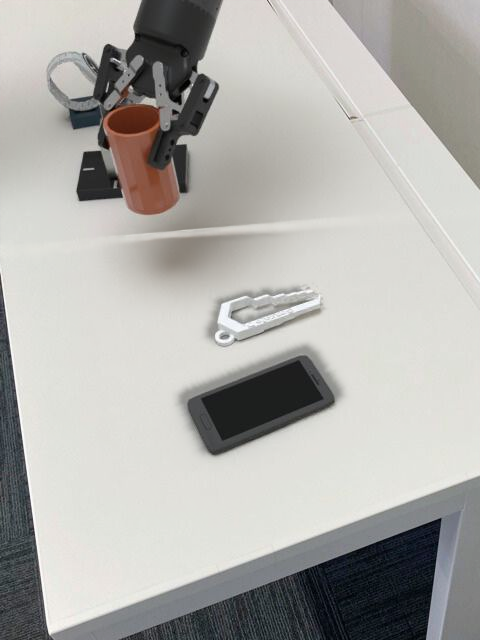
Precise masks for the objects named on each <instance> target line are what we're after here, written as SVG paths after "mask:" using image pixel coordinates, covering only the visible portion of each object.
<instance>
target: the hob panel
mask: <svg viewBox="0 0 480 640" xmlns="http://www.w3.org/2000/svg"><path fill="white" fill-rule="evenodd" d="M189 156H190V155H189V149H188V144H187V143H180V144H176V147H175V150H174V153H173V156H172V157H173V162H174V167H175V171H176V176H177V181H178V185H179V192H180V194H188V192H189V191H188V190H189V189H188V188H189V187H188V185H189V158H190V157H189ZM79 169H80V170H79V174H78V180H77V185H76V190H75V192H76V195H77V198H78V201H79V202H88V201H98V200H112V199H113V200H114V199H122V198H123V195H122V191H121V188H120V184H119V181H118V178H109V177H108V173H107V170H106V167H105V163H104V160H103V156H102V153H101V149H99V150H88V151H83V152H82V158H81V164H80V167H79ZM123 199H124V198H123Z"/></svg>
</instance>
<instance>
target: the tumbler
mask: <svg viewBox="0 0 480 640" xmlns="http://www.w3.org/2000/svg"><path fill="white" fill-rule="evenodd" d="M103 128H104V131H105V135H106V138H107V142H108V145H109V149H110V152H111V156H112V159H113V163H114V167H115V170H116V174H117V177H118V181H119V184H120V188H121V191H122V195H123V200H124V204H125V206H126V208H127V209H128V210H129V211H131V212H132V213H135V214H137V215H141V216H153V215H159V214H162V213H165V212H167V211H169V210H171V209H172V208H174V207H175V206H176V205H177V204H178V202H179V200H180V197H181V193H180V192H179V185H178V181H177V176H176V171H175V167H174V162H173V157H172V159H171V161H170V163H169V165H168V166H165V169H164V170H159V169H157V168H154V167H151V166H149V165H148V164H147V160H148V157H149V154H150V151H151V148H152V145H153V142H154V139H155V136H156V134H157V131H158V130H160V131H162V129H161V127H160V112H159V109H158V108H157V106H154V105H151V104H147V103H146V104H145V103H138V104H130V105H126V106H122V107H119V108H117V109H115V110H113V111H111V112H110V113H109V114H108V115H107V116H106V117H105V118H104V122H103Z"/></svg>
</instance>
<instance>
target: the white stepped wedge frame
mask: <svg viewBox="0 0 480 640" xmlns="http://www.w3.org/2000/svg"><path fill="white" fill-rule="evenodd" d="M313 296H314V297H316V298H314V299H311V300H308V301H306V302H303V303H301V304H297V305H294V306H292V307H289V308H286V309H283V310H280V311H277V312H275V313H271V314H269V315H266V316H262V317H260V318H257V319H254V320H252V321H248V322H245V323H240V322H239V321H236V320H235V319H233V318H232V315H233V314H232V313H233V312H235V311H237V310H240V309H243V308H247V307H249V306H250V307H252V308H255V309H256V310H257V309H258V308H259V307H262V306H264V305H268V304H271V305H274V306H277V304H279V303H281V302H288V303H290V301H291V300H294V299H302V298H305V297H306V298H310V297H313ZM321 301H322V294H321V293H319V292H317V291H315V290H312V289H307V290H300V291H297V292H296V291H292V292H290V293H287V294H285V293H283V292H282V293H279V294H276V295H274V296H271V295H270V294H267V293H266V294H263V295H259V296H258V297H255V298H252V297H249V295H243V296H241V297H237V298H235V299H232V300H229V301H226V302H223V303H221V305H220V309H219V313H218V318H217V320H216V321H217V322H216V323H217V328H218V330H217V331H216V332H215V334H214V340H215V344H216V345H218V346H220V347H228V346H231V345H232V344H234V343H235V341H236V340H237V341H240V340H244V339H247V338H250V337H253V336H255V335H258V334H261V333H264V331H266V330H268V329H272V328H275V327H277V326H279V325H282V324H283V323H285V322H287V321H290V320H293V319H295V318H296V317H298V316H300V315H303V314H306V313H309V312H311V311H313V310H318V309H320V308H321ZM224 336H228V338H227V339H222V337H224Z"/></svg>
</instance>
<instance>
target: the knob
mask: <svg viewBox="0 0 480 640" xmlns="http://www.w3.org/2000/svg"><path fill="white" fill-rule="evenodd" d="M102 120H103V118H101V120H100V125H99V127H98V131H99V130H100V126H101V123H102ZM99 150H101V153H102V156H103V160H104V163H105V167H106V170H107V173H108V177H109V178H118V177H117V174H116V170H115V167H114V163H113V159H112V156H111V152H110V150H107V149H104V148H102V147H99Z"/></svg>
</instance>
